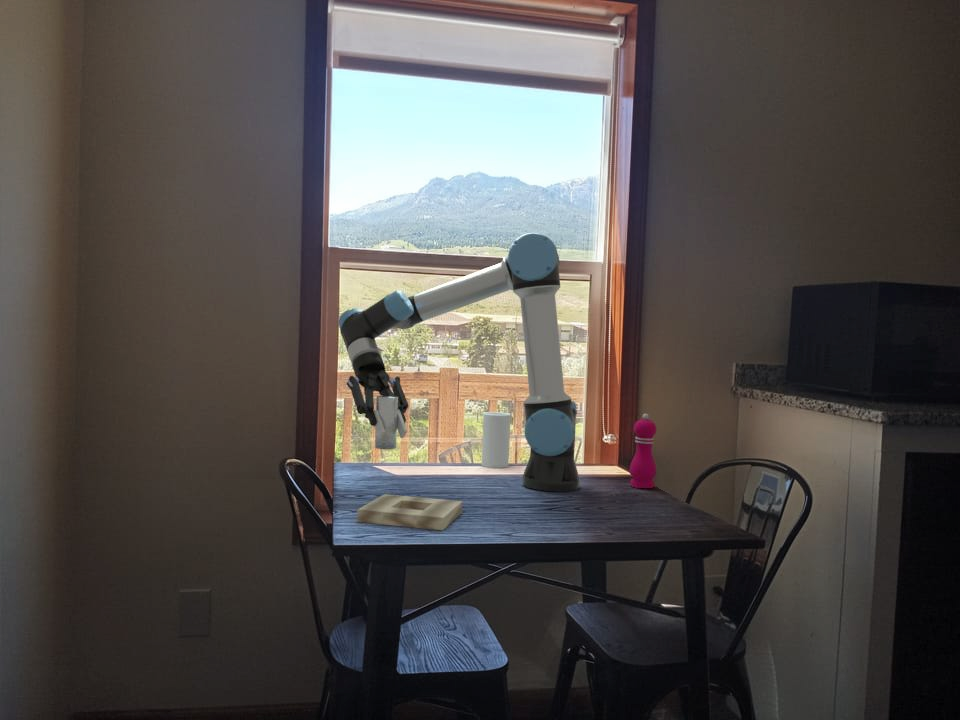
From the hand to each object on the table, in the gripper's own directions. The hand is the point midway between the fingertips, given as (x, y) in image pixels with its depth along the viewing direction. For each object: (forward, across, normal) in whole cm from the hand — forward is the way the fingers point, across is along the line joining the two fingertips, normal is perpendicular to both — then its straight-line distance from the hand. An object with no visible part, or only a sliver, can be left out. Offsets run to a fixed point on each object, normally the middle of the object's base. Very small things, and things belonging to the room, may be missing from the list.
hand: (392, 434), depth 168 cm
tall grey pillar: (0, 0, -5) cm, 5 cm away
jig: (+22, +3, +1) cm, 22 cm away
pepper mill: (+18, -70, -4) cm, 73 cm away
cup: (-11, -50, -33) cm, 61 cm away
